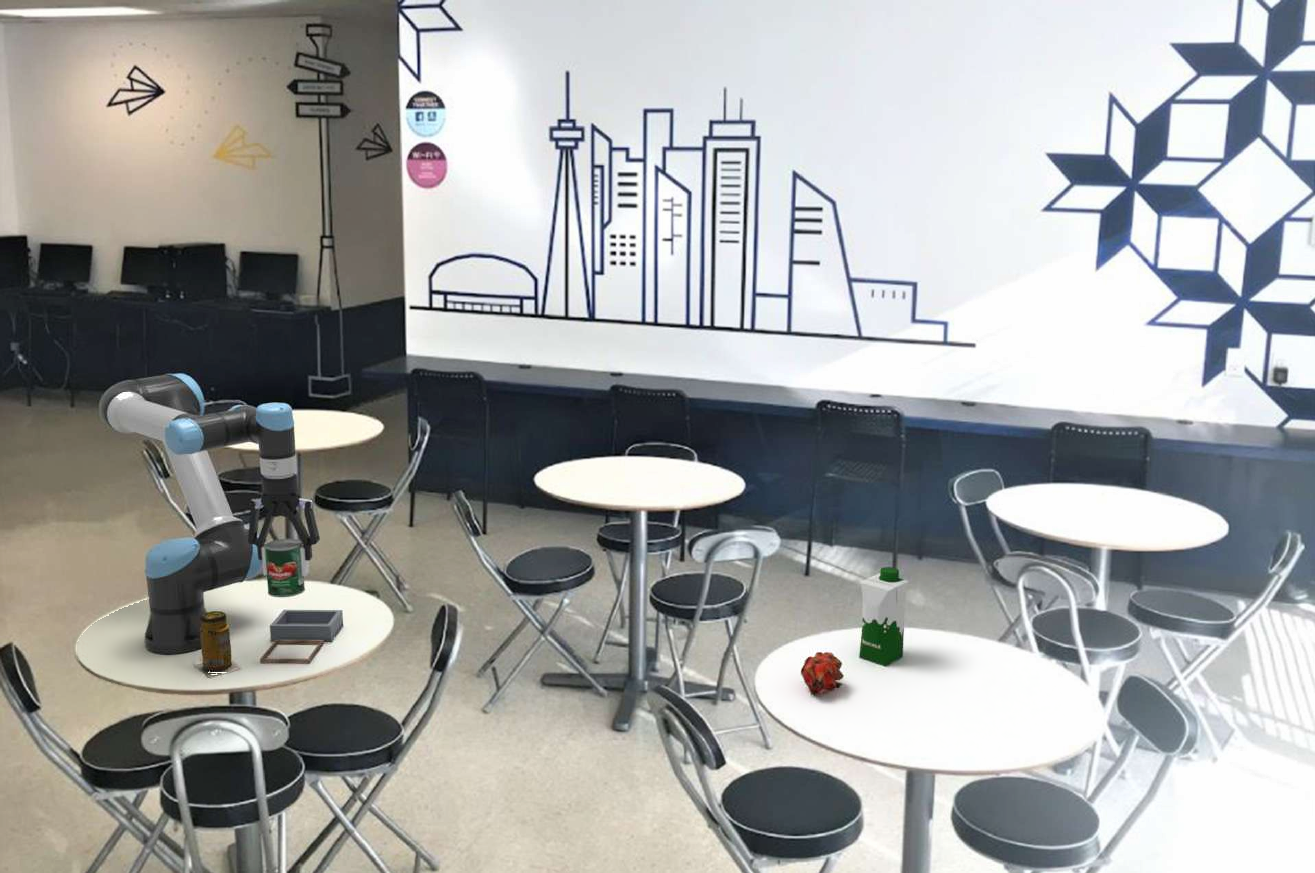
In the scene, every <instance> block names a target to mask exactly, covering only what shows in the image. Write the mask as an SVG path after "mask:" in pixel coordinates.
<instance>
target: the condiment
mask: <svg viewBox="0 0 1315 873" xmlns="http://www.w3.org/2000/svg"><path fill="white" fill-rule="evenodd" d="M227 622H228V620H227V614H226V613H225V612H224V611H220V610H218V611H213V610H212V611H209V612H208V611H207V613H205V614H203V615H202V616H201V626H202V627H201V628H200V637H201V648H200V649H201V658H202V660H201V661H202V662H200V663H196V664H195V667H197V668H198V669H199V670H200V671H201V672H203V674H204V675H206V676H207V677H208V678H211V677H215V676H218V675H211V674H216V673H208V672H209V671H210V672H229V673H231V672H235V670H236V671H239V670H242V669H243V668H242V667H241V666H240V665H239V664H238V663H236V662H235V661H234V660H233V659H232V645H231V636H230V635H231V632H230V626H229V624H228V623H227ZM217 674H221V675H223V674H222V673H217Z"/></svg>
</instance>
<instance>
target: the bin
mask: <svg viewBox="0 0 1315 873" xmlns="http://www.w3.org/2000/svg"><path fill="white" fill-rule="evenodd" d="M343 617H344V616H343V609H283V610H282V611H281V612H280V613H279V615H278V616H277V617H276V618H275V619H274V620H273V622H272V623H271V624H270V625H269V632H270V634H269V635H270V642H271V643H274V642H275V640H324V642H332V643H333V641H334V640H335V638H336V637H337V636H336V635H338V634H339V633H340V632H341V629H343V627H344V618H343ZM334 637H335V638H334Z"/></svg>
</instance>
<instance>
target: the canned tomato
mask: <svg viewBox="0 0 1315 873" xmlns="http://www.w3.org/2000/svg"><path fill="white" fill-rule="evenodd" d="M265 544H266V545H265V554H266V568H267V576H266V579H267V581H266V582H267V594H268V595H269V596H270V597H274V598H290V597H296V596H299V595H301V594H303V593H304V592H305V591H306V588H305V576H302V567H301V553H300V548H301V546H302V545H303V544H302V542H301V540H300V539H296V538H282V539H281V538H280V539H276V540H275V539H274V540H271V541H269V542H267V543H265Z"/></svg>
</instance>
